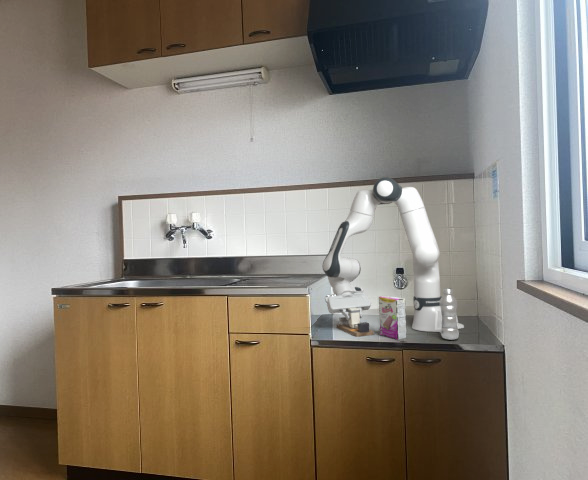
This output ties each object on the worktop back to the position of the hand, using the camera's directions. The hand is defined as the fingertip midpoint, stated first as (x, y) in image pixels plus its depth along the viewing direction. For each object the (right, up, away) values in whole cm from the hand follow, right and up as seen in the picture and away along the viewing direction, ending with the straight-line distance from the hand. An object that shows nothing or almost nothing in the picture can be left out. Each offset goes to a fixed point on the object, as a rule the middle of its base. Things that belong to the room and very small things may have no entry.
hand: (354, 318), depth 184 cm
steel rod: (0, -4, +1) cm, 4 cm away
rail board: (0, -6, +1) cm, 6 cm away
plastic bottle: (+35, -5, -20) cm, 40 cm away
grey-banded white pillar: (0, -4, +1) cm, 4 cm away
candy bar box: (+14, -6, -12) cm, 19 cm away
